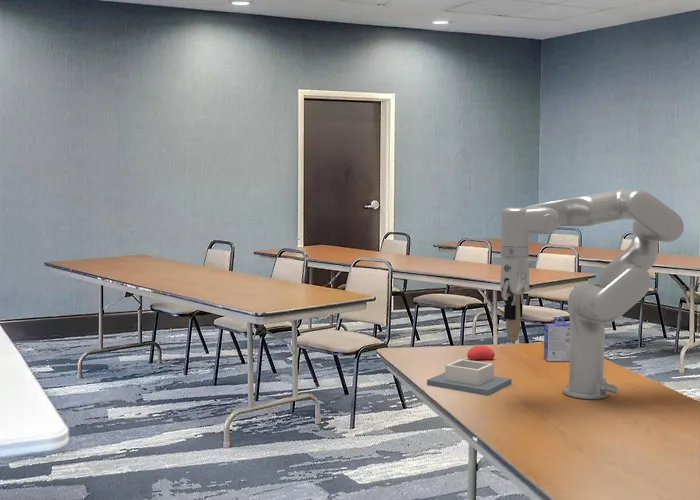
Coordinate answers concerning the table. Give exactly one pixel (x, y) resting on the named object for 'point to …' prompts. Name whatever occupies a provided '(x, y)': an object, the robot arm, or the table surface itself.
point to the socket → (470, 377)
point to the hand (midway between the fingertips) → (513, 317)
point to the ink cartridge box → (557, 341)
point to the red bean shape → (480, 353)
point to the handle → (514, 325)
